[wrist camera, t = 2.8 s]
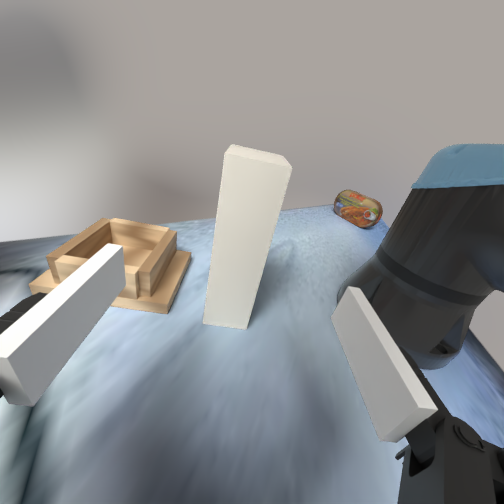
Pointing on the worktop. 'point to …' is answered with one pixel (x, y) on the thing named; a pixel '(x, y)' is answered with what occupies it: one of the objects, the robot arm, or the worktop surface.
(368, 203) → the tin
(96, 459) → the worktop surface
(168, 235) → the wooden box
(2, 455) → the worktop surface
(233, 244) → the white rectangular block
